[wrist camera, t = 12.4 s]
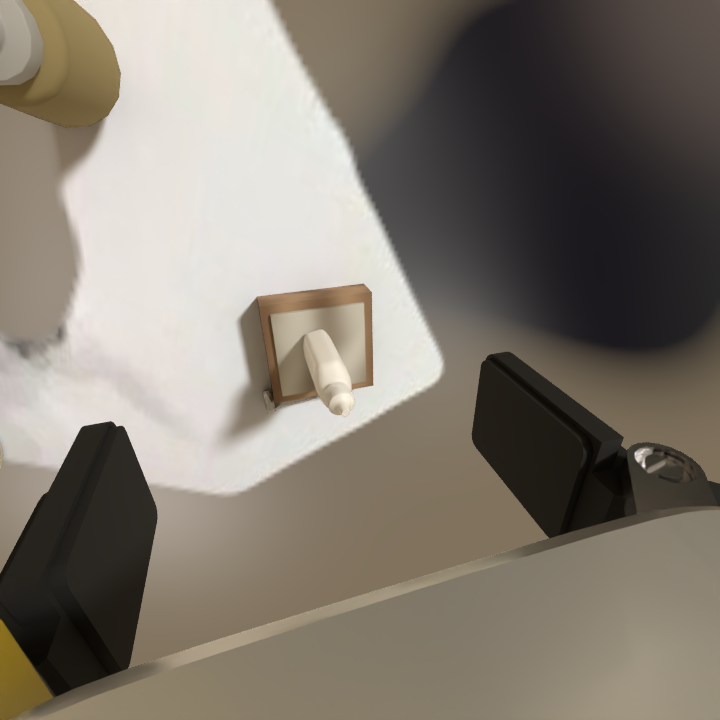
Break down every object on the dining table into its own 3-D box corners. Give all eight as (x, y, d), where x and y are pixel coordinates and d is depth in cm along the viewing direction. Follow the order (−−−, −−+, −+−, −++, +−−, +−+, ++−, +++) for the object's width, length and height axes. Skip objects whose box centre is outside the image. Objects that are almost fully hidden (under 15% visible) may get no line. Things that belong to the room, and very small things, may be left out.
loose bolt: (268, 416, 48) (265, 405, 46) (263, 398, 50) (261, 387, 48) (316, 404, 50) (316, 393, 48) (310, 387, 51) (310, 376, 49)
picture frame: (272, 389, 49) (274, 405, 46) (257, 296, 43) (259, 307, 40) (366, 373, 52) (374, 387, 49) (363, 283, 46) (372, 293, 43)
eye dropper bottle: (294, 370, 45) (313, 437, 35) (306, 324, 43) (330, 382, 33) (330, 375, 46) (359, 441, 36) (344, 332, 44) (378, 388, 34)
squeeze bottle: (-6, -14, 28) (-285, -196, 13) (124, 16, 30) (21, -108, 15) (21, 119, 32) (-172, 100, 16) (136, 136, 34) (62, 133, 19)
